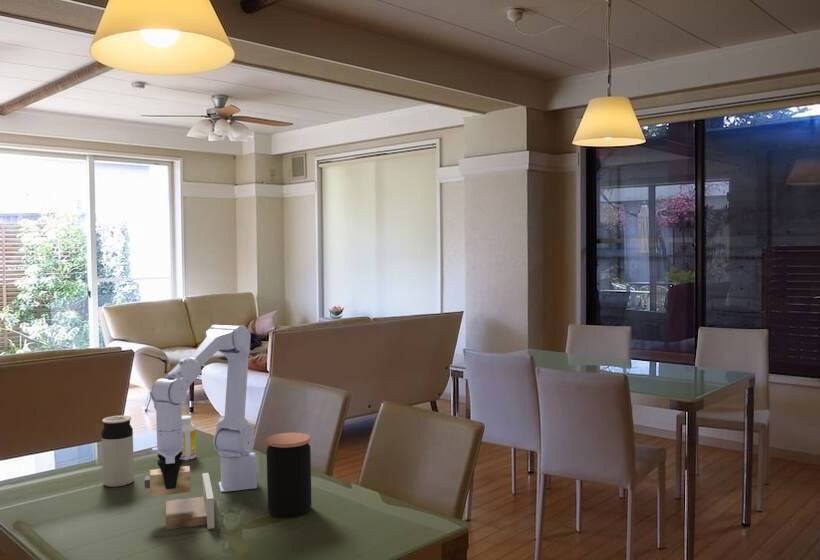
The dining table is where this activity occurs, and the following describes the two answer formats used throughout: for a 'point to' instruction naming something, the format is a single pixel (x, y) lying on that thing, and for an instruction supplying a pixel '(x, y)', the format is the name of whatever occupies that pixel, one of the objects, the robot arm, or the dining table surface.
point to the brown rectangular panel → (185, 513)
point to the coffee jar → (289, 474)
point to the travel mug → (117, 451)
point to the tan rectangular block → (158, 485)
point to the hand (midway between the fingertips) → (170, 485)
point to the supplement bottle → (188, 439)
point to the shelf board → (208, 500)
